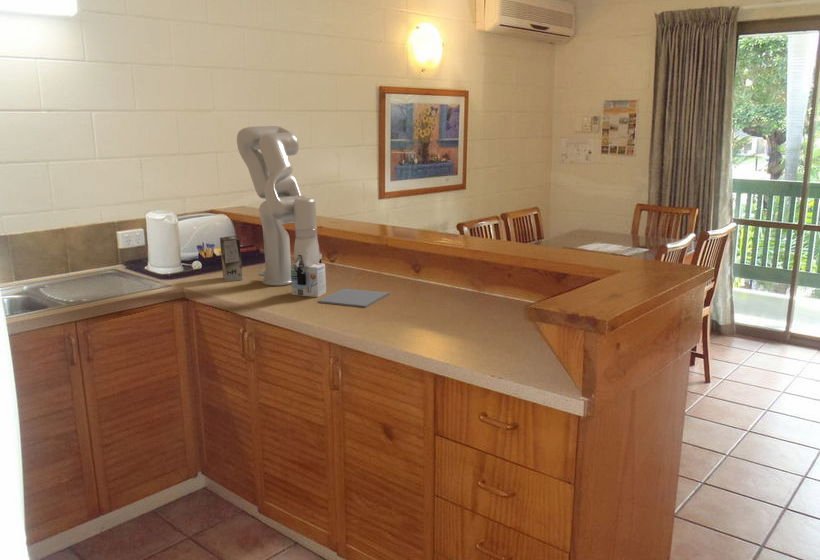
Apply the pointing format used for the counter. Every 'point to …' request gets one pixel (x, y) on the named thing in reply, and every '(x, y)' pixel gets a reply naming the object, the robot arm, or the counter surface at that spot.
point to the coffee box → (231, 258)
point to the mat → (353, 297)
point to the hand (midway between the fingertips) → (309, 281)
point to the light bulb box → (310, 281)
